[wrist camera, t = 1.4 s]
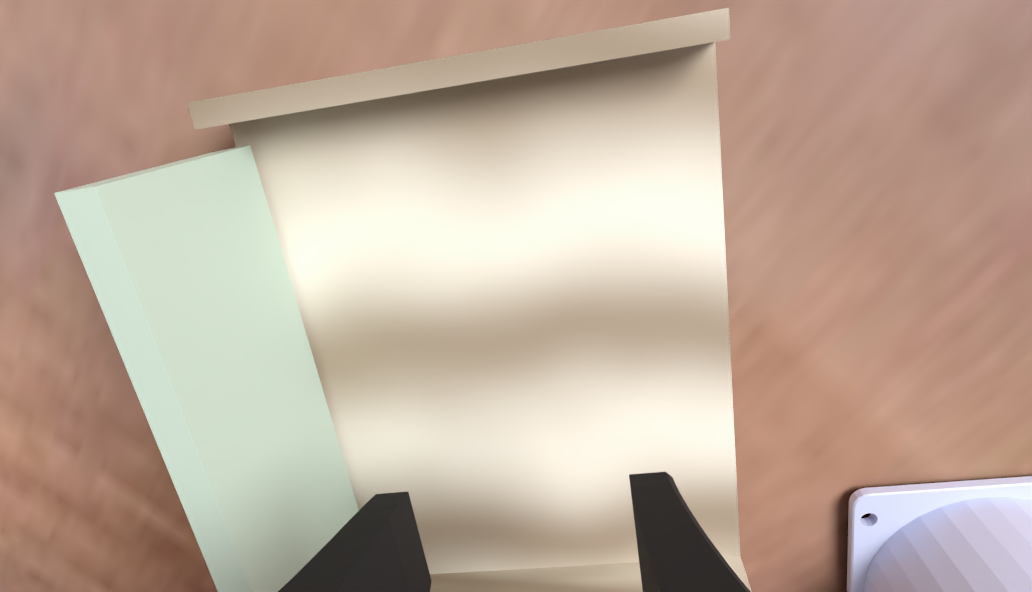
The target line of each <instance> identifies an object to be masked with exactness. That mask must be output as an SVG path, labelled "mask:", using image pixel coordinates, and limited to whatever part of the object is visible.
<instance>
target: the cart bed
mask: <svg viewBox="0 0 1032 592" xmlns="http://www.w3.org/2000/svg"><path fill="white" fill-rule="evenodd" d="M724 40H730V23H729V8H725V9H719V10H713V11H708V12H702V13H696V14H690V15H685V16H679V17H673V18H668V19H662V20H656V21H650V22H645V23H639V24H633V25H628V26H622V27H616V28H611V29H605V30H599V31H593V32H588V33H582V34H576V35H571V36H565V37H559V38H553V39H548V40H542V41H536V42H531V43H525V44H519V45H514V46H508V47H502V48H496V49H491V50H485V51H479V52H474V53H468V54H462V55H456V56H451V57H445V58H439V59H434V60H428V61H422V62H417V63H411V64H405V65H399V66H394V67H388V68H382V69H377V70H371V71H365V72H359V73H354V74H348V75H342V76H337V77H331V78H325V79H320V80H314V81H308V82H302V83H297V84H291V85H285V86H280V87H274V88H268V89H262V90H257V91H251V92H245V93H240V94H234V95H228V96H222V97H217V98H211V99H205V100H200V101H194V102H188V103H187V105H188V108H189V111H190V114H191V117H192V120H193V123H194V127H195V130H196V129H201V128H207V127H213V126H219V125H225V124H229V126H230V129H231V132H232V135H233V139H234V142H235V145H236V147H242V146H248V145H250V146H251V149H252V152H253V156H254V159H255V163H256V166H257V169H258V173H259V176H260V179H261V183H262V186H263V190H264V193H265V196H266V200H267V203H268V206H269V210H270V213H271V217H272V220H273V223H274V227H275V230H276V233H277V237H278V240H279V244H280V247H281V250H282V254H283V257H284V260H285V264H286V267H287V270H288V274H289V277H290V281H291V284H292V287H293V291H294V294H295V297H296V301H297V304H298V308H299V311H300V314H301V318H302V321H303V324H304V328H305V331H306V335H307V338H308V341H309V345H310V348H311V351H312V355H313V358H314V361H315V365H316V368H317V372H318V375H319V378H320V382H321V385H322V388H323V392H324V395H325V399H326V402H327V405H328V409H329V412H330V415H331V419H332V422H333V426H334V429H335V432H336V436H337V439H338V442H339V446H340V449H341V452H342V456H343V459H344V463H345V466H346V469H347V473H348V476H349V479H350V483H351V486H352V490H353V493H354V496H355V500H356V503H357V506H358V510H360V509H361V508H362V507H363V506H364V505H365V504H366V503H367V502H368V501H369V500H370V499H371V498H372V497H373V496H374V495H375V494H382V493H395V492H408V493H409V496H410V500H411V504H412V508H413V512H414V516H415V519H416V523H417V527H418V531H419V535H420V539H421V542H422V546H423V550H424V554H425V558H426V562H427V565H428V569H429V573H430V577H431V588H430V592H643V589H642V581H641V573H640V564H639V556H638V547H637V539H636V530H635V522H634V513H633V504H632V496H631V487H630V479H629V474H641V473H654V472H667V473H668V474H669V475H670V476H672V477H673V479H674V482H675V484H676V486H677V488H678V490H679V492H680V494H681V496H682V497H683V499H684V501H685V502H686V504H687V506H688V507H689V509H690V511H691V512H692V514H693V515H694V517H695V518H696V520H697V521H698V523H699V525H700V526H701V527H702V529H703V530H704V532H705V533H706V535H707V536H708V538H709V539H710V540H711V542H712V543H713V544H714V546H715V547H716V548H717V550H718V551H719V552H720V554H721V555H722V556H723V558H724V559H725V560H726V562H727V563H728V564H729V566H730V567H731V568H732V569H733V571H734V572H735V573H736V575H737V576H738V577H739V578H740V580H741V581H742V582H743V583H744V584H745V585H746V587H747V588H748V589H749V590H750V591H751V587H750V584H749V581H748V578H747V575H746V572H745V569H744V566H743V563H742V560H741V557H740V540H739V520H738V499H737V479H736V458H735V438H734V417H733V397H732V376H731V356H730V335H729V315H728V294H727V273H726V253H725V232H724V212H723V191H722V171H721V150H720V130H719V109H718V89H717V68H716V48H715V42H718V41H724ZM751 592H752V591H751Z"/></svg>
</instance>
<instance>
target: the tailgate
mask: <svg viewBox="0 0 1032 592" xmlns="http://www.w3.org/2000/svg"><path fill="white" fill-rule="evenodd" d="M54 194H55V196H56V199H57V201H58V204H59V206H60V208H61V211H62V213H63V216H64V218H65V221H66V223H67V225H68V228H69V230H70V233H71V235H72V238H73V240H74V243H75V245H76V247H77V250H78V252H79V255H80V257H81V260H82V262H83V264H84V267H85V269H86V272H87V274H88V277H89V279H90V282H91V284H92V286H93V289H94V291H95V294H96V296H97V299H98V301H99V303H100V306H101V308H102V311H103V313H104V316H105V318H106V320H107V323H108V325H109V328H110V330H111V333H112V335H113V338H114V340H115V342H116V345H117V347H118V350H119V352H120V355H121V357H122V359H123V362H124V364H125V367H126V369H127V372H128V374H129V376H130V379H131V381H132V384H133V386H134V389H135V391H136V394H137V396H138V398H139V401H140V403H141V406H142V408H143V411H144V413H145V415H146V418H147V420H148V423H149V425H150V428H151V430H152V433H153V435H154V437H155V440H156V442H157V445H158V447H159V450H160V452H161V454H162V457H163V459H164V462H165V464H166V467H167V469H168V471H169V474H170V476H171V479H172V481H173V484H174V486H175V489H176V491H177V493H178V496H179V498H180V501H181V503H182V506H183V508H184V510H185V513H186V515H187V518H188V520H189V523H190V525H191V528H192V530H193V532H194V535H195V537H196V540H197V542H198V545H199V547H200V549H201V552H202V554H203V557H204V559H205V562H206V564H207V566H208V569H209V571H210V574H211V576H212V579H213V581H214V584H215V586H216V588H217V591H218V592H278V591H279V590H280V589H281V588H282V587H283V586H284V585H285V584H286V583H288V582H289V581H290V580H291V579H292V578H293V577H294V576H295V575H296V574H297V573H298V572H299V571H300V570H301V569H302V568H303V567H304V566H305V565H306V564H307V563H308V562H309V561H310V560H311V559H312V558H313V557H314V556H315V555H316V554H317V553H318V552H319V551H320V550H321V549H322V548H323V547H324V546H325V545H326V544H327V543H328V542H329V541H330V540H331V539H332V538H333V537H334V536H335V535H336V534H337V533H338V532H339V530H340V529H341V528H342V527H343V526H344V525H345V524H346V523H347V522H348V521H349V520H350V519H351V518H352V517H353V516H354V515H355V514H356V513H357V512H358V511H359V510H358V506H357V503H356V500H355V496H354V493H353V490H352V486H351V483H350V479H349V476H348V473H347V469H346V466H345V463H344V459H343V456H342V452H341V449H340V446H339V442H338V439H337V436H336V432H335V429H334V426H333V422H332V419H331V415H330V412H329V409H328V405H327V402H326V399H325V395H324V392H323V388H322V385H321V382H320V378H319V375H318V372H317V368H316V365H315V361H314V358H313V355H312V351H311V348H310V345H309V341H308V338H307V335H306V331H305V328H304V324H303V321H302V318H301V314H300V311H299V308H298V304H297V301H296V297H295V294H294V291H293V287H292V284H291V281H290V277H289V274H288V270H287V267H286V264H285V260H284V257H283V254H282V250H281V247H280V244H279V240H278V237H277V233H276V230H275V227H274V223H273V220H272V217H271V213H270V210H269V206H268V203H267V200H266V196H265V193H264V190H263V186H262V183H261V179H260V176H259V173H258V169H257V166H256V163H255V159H254V156H253V152H252V149H251V146H250V145H248V146H242V147H236V148H230V149H224V150H219V151H215V152H211V153H207V154H204V155H200V156H196V157H192V158H188V159H184V160H180V161H176V162H173V163H169V164H165V165H161V166H157V167H153V168H149V169H146V170H142V171H138V172H134V173H130V174H126V175H122V176H118V177H115V178H111V179H107V180H103V181H99V182H95V183H91V184H88V185H84V186H80V187H76V188H72V189H68V190H64V191H60V192H57V193H54Z"/></svg>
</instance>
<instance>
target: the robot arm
mask: <svg viewBox="0 0 1032 592" xmlns="http://www.w3.org/2000/svg"><path fill="white" fill-rule="evenodd" d="M629 479H630V487H631V496H632V504H633V513H634V522H635V530H636V539H637V547H638V556H639V564H640V573H641V581H642V589H643V592H751V591H750V590H749V589H748V588H747V587H746V585H745V584H744V583H743V582H742V581H741V580H740V578H739V577H738V576H737V575H736V573H735V572H734V571H733V569H732V568H731V567H730V566H729V564H728V563H727V562H726V560H725V559H724V558H723V556H722V555H721V554H720V552H719V551H718V550H717V548H716V547H715V546H714V544H713V543H712V542H711V540H710V539H709V538H708V536H707V535H706V533H705V532H704V530H703V529H702V527H701V526H700V525H699V523H698V521H697V520H696V518H695V517H694V515H693V514H692V512H691V511H690V509H689V507H688V506H687V504H686V502H685V501H684V499H683V497H682V496H681V494H680V492H679V490H678V488H677V486H676V484H675V482H674V479H673V477H672V476H670V475H669V474H668V473H667V472H654V473H641V474H629ZM868 513H871V515H870V516H869V517H866V518H861V517H862V516H863V515H865V514H868ZM430 588H431V577H430V573H429V569H428V565H427V562H426V558H425V554H424V550H423V546H422V542H421V539H420V535H419V531H418V527H417V523H416V519H415V516H414V512H413V508H412V504H411V500H410V496H409V493H408V492H395V493H382V494H375V495H374V496H373V497H372V498H371V499H370V500H369V501H368V502H367V503H366V504H365V505H364V506H363V507H362V508H361V509H360V510H359V511H358V512H357V513H356V514H355V515H354V516H353V517H352V518H351V519H350V520H349V521H348V522H347V523H346V524H345V525H344V526H343V527H342V528H341V529H340V530H339V532H338V533H337V534H336V535H335V536H334V537H333V538H332V539H331V540H330V541H329V542H328V543H327V544H326V545H325V546H324V547H323V548H322V549H321V550H320V551H319V552H318V553H317V554H316V555H315V556H314V557H313V558H312V559H311V560H310V561H309V562H308V563H307V564H306V565H305V566H304V567H303V568H302V569H301V570H300V571H299V572H298V573H297V574H296V575H295V576H294V577H293V578H292V579H291V580H290V581H289V582H288V583H286V584H285V585H284V586H283V587H282V588H281V589H280V590H279V591H278V592H430ZM847 592H1032V476H1026V477H1011V478H997V479H983V480H969V481H955V482H941V483H926V484H912V485H898V486H884V487H870V488H862V489H859V490H857V491H855V492H854V493H853V494H852V495H851V496H850V499H849V516H848V558H847Z"/></svg>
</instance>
